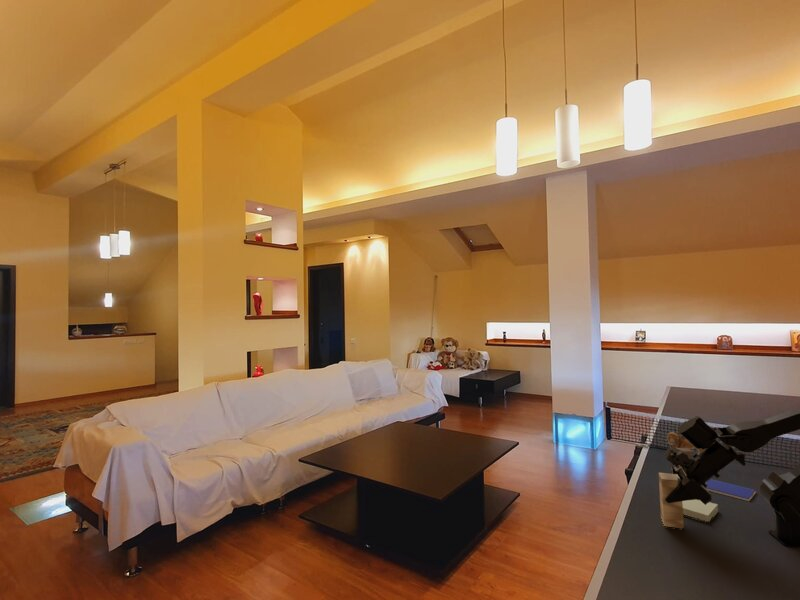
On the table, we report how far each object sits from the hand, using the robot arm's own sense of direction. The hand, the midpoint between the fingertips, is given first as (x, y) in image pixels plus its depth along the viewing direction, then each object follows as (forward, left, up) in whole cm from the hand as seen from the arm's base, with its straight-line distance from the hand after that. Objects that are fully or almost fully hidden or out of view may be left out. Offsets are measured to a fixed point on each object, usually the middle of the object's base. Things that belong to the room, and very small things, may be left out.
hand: (664, 497), depth 116 cm
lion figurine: (+52, -28, -7) cm, 60 cm away
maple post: (0, -1, -7) cm, 7 cm away
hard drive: (+23, -26, -8) cm, 36 cm away
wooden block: (+37, -20, -7) cm, 43 cm away
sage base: (+8, -10, -8) cm, 15 cm away
